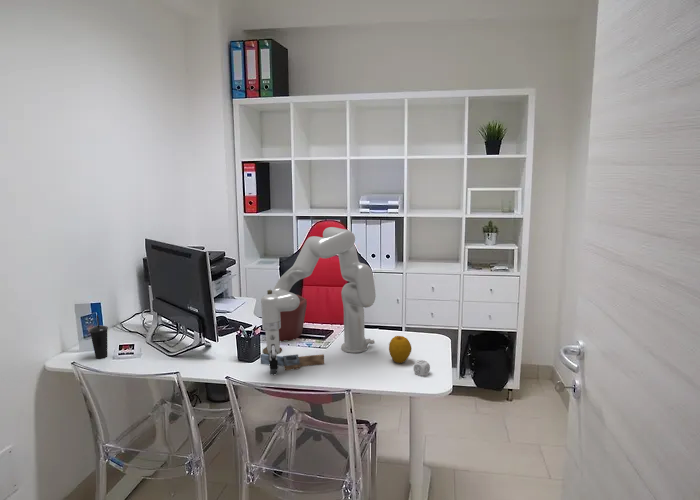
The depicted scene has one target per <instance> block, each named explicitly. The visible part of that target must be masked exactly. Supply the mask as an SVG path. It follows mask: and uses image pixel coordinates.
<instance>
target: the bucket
mask: <svg viewBox="0 0 700 500" xmlns="http://www.w3.org/2000/svg"><path fill="white" fill-rule="evenodd" d="M272 292H273V290H272ZM296 295H297V296H298V298H299V300H300V304H299V306H298V307H297V308H296V309H295V310H293V311H282V312H280V320H281V328H280V329H278V330H279V342H280V341H281V342H285V341H284V340H288V341H294V340H293V339H295V340H297V339H298V338H299V337H301V336H302V335H301V334H303V329H304V323H305V317H306V310H307V303H308V301H307V300H308V299H307V298H305V297H303V296H301V295H299V294H296Z"/></svg>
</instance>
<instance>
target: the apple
mask: <svg viewBox="0 0 700 500" xmlns="http://www.w3.org/2000/svg"><path fill="white" fill-rule="evenodd" d="M388 351H389V355H390V357H391V359H392V360H393V362H394V363H397V364H403V363H405V362H406V361H407V359H409V356H410V354H411V353H412V344H411V342H410V340H408V338H407V337H405V336H403V335H396V336H394V337H392V338H391V340H390V342H389V343H388Z"/></svg>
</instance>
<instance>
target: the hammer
mask: <svg viewBox="0 0 700 500" xmlns="http://www.w3.org/2000/svg"><path fill="white" fill-rule="evenodd" d="M259 357H260V364H261V365H269V364H270V362H269V355H267V354H264V353H261V354H260V356H259ZM277 360H278V366H280V367H283V368H284V371H292V370H291V369H294V370H300V369H301V367H307V366H308V365H309V366H317V365H325V354H323V353H322V354H313V355H305V356H304V355H302V356H299V354H290V355H289V354H288V355H277Z"/></svg>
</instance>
